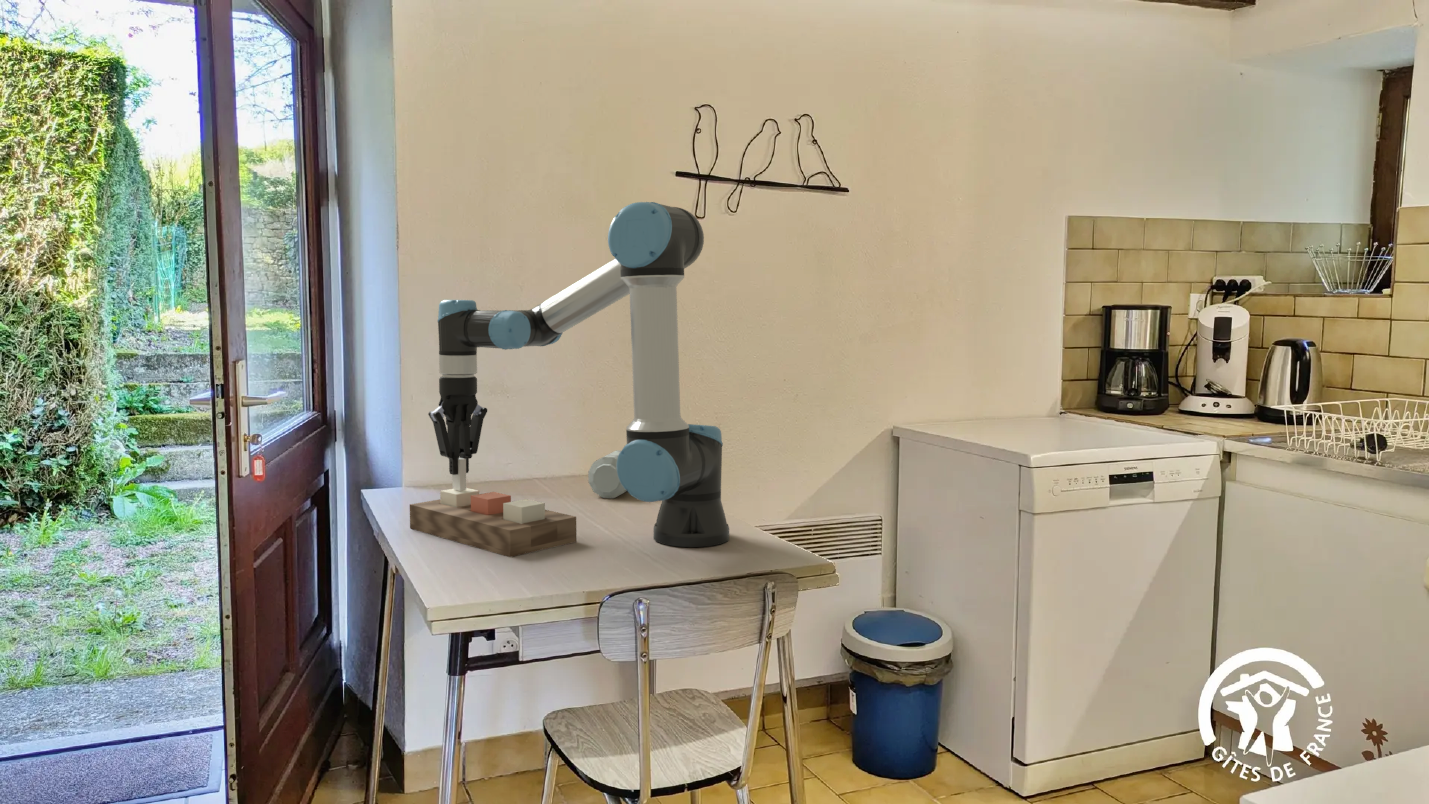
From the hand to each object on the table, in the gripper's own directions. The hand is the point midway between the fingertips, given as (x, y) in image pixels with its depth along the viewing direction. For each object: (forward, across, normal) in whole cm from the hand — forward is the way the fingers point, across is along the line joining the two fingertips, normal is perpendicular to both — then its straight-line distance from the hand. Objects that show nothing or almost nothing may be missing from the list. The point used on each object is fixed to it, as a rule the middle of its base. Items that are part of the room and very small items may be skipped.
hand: (459, 489), depth 206 cm
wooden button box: (+8, 0, +11) cm, 13 cm away
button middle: (+4, 0, +11) cm, 12 cm away
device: (+8, -54, -6) cm, 55 cm away
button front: (+4, 0, +21) cm, 22 cm away
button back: (+5, 0, 0) cm, 5 cm away
